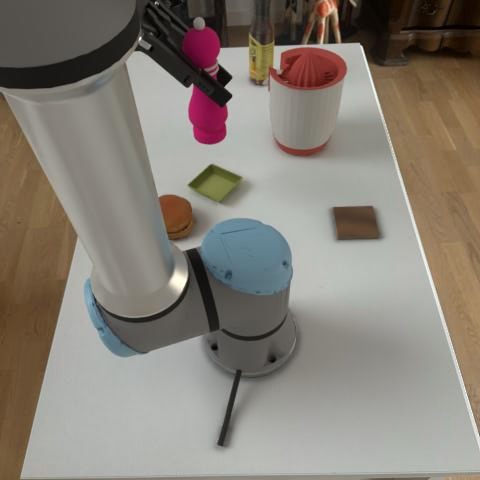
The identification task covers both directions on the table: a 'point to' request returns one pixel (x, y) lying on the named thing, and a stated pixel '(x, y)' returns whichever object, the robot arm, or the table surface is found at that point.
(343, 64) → the citrus juicer
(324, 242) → the table surface
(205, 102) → the pepper mill
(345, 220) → the wooden coaster
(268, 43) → the sauce bottle
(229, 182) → the olive green square tray
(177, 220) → the burger
